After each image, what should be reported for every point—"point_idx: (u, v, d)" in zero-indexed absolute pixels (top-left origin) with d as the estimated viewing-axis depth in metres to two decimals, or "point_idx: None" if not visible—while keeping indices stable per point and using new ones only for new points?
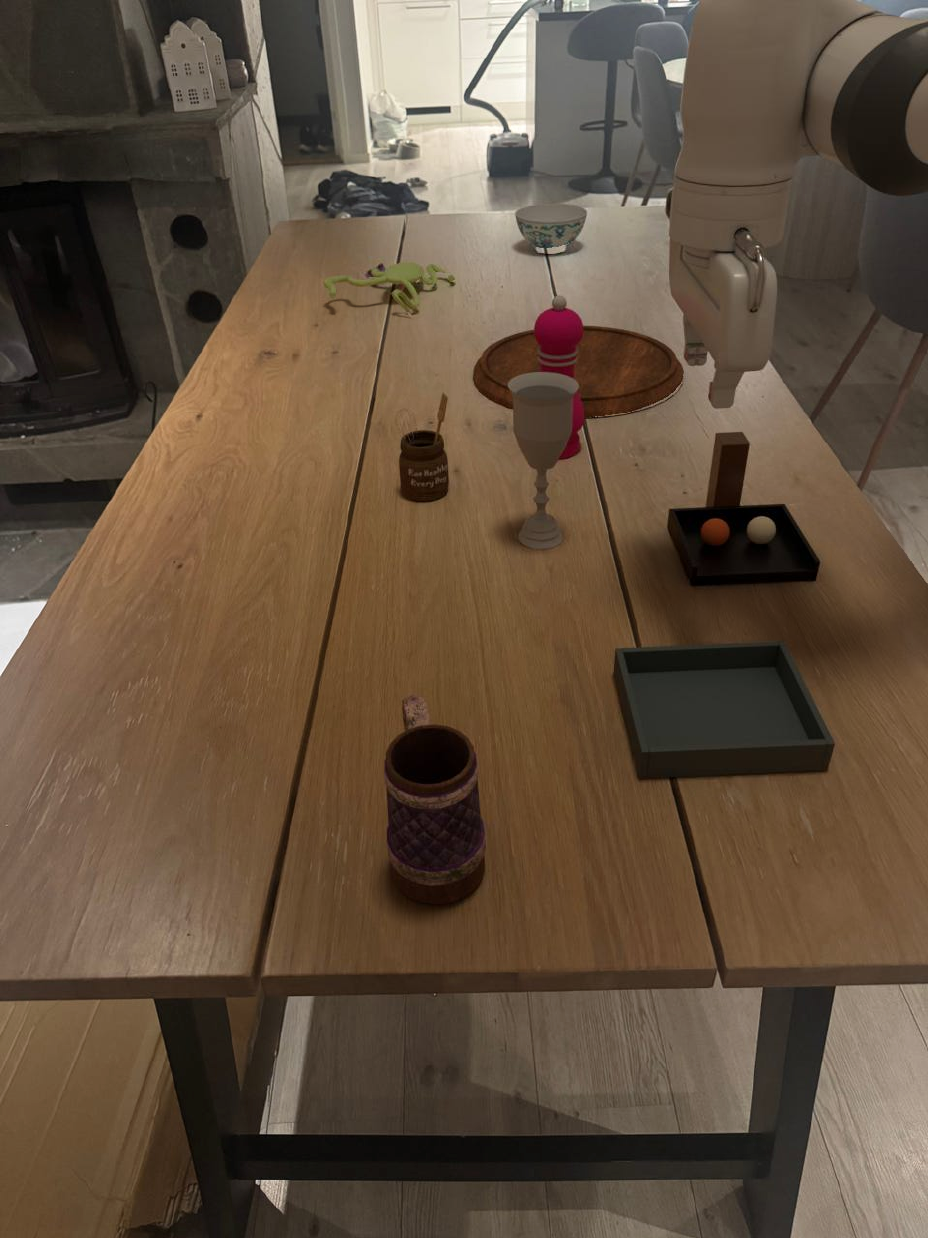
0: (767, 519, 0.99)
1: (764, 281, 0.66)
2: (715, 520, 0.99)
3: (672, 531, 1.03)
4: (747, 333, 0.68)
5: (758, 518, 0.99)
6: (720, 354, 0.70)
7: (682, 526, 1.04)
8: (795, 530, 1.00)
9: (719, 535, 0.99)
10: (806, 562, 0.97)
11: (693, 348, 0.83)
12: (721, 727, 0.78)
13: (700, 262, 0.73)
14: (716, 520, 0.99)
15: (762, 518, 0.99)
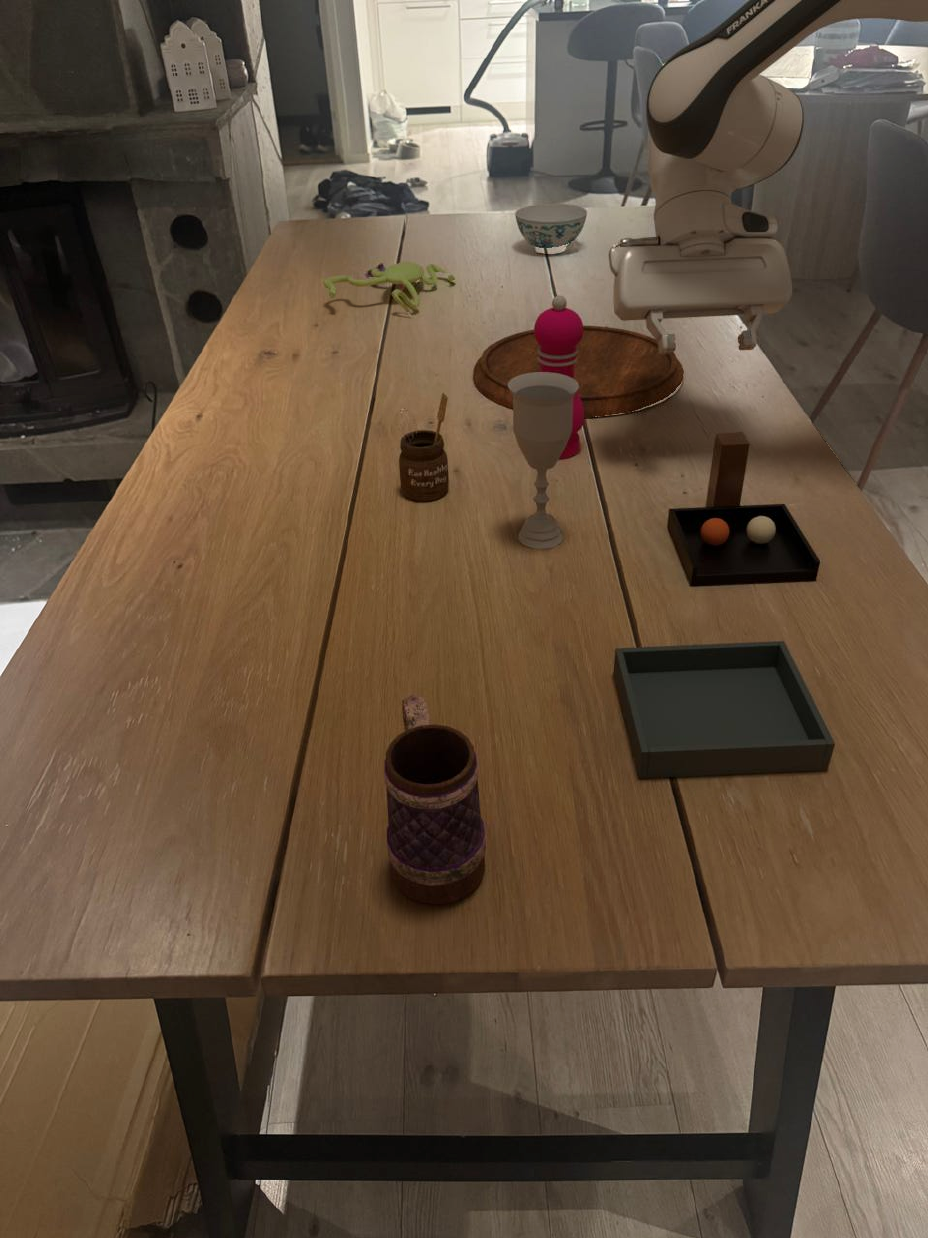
0: (767, 518, 0.99)
1: (610, 255, 1.06)
2: (715, 519, 0.99)
3: (672, 531, 1.03)
4: (615, 289, 1.06)
5: (758, 518, 1.00)
6: None
7: (682, 526, 1.04)
8: (795, 530, 1.00)
9: (719, 534, 0.99)
10: (806, 562, 0.97)
11: (738, 336, 1.07)
12: (721, 727, 0.78)
13: None
14: (716, 519, 0.99)
15: (762, 517, 0.99)
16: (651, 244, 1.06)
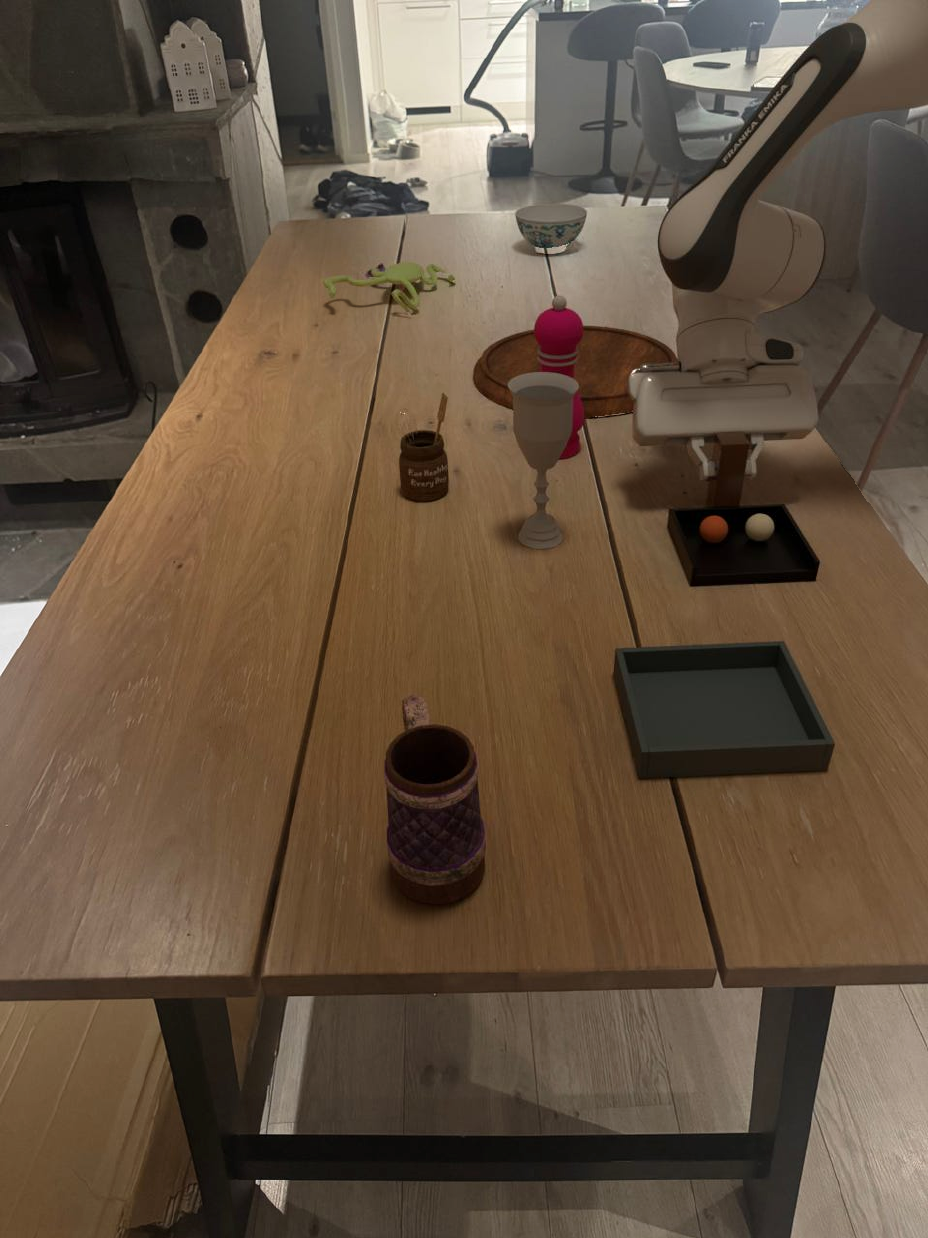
0: (764, 514, 1.00)
1: (629, 381, 1.04)
2: None
3: (672, 531, 1.03)
4: (634, 415, 1.04)
5: (755, 514, 1.00)
6: None
7: (682, 526, 1.04)
8: (795, 530, 1.00)
9: (717, 527, 0.99)
10: (806, 562, 0.97)
11: None
12: (721, 727, 0.78)
13: None
14: None
15: None
16: (672, 370, 1.04)
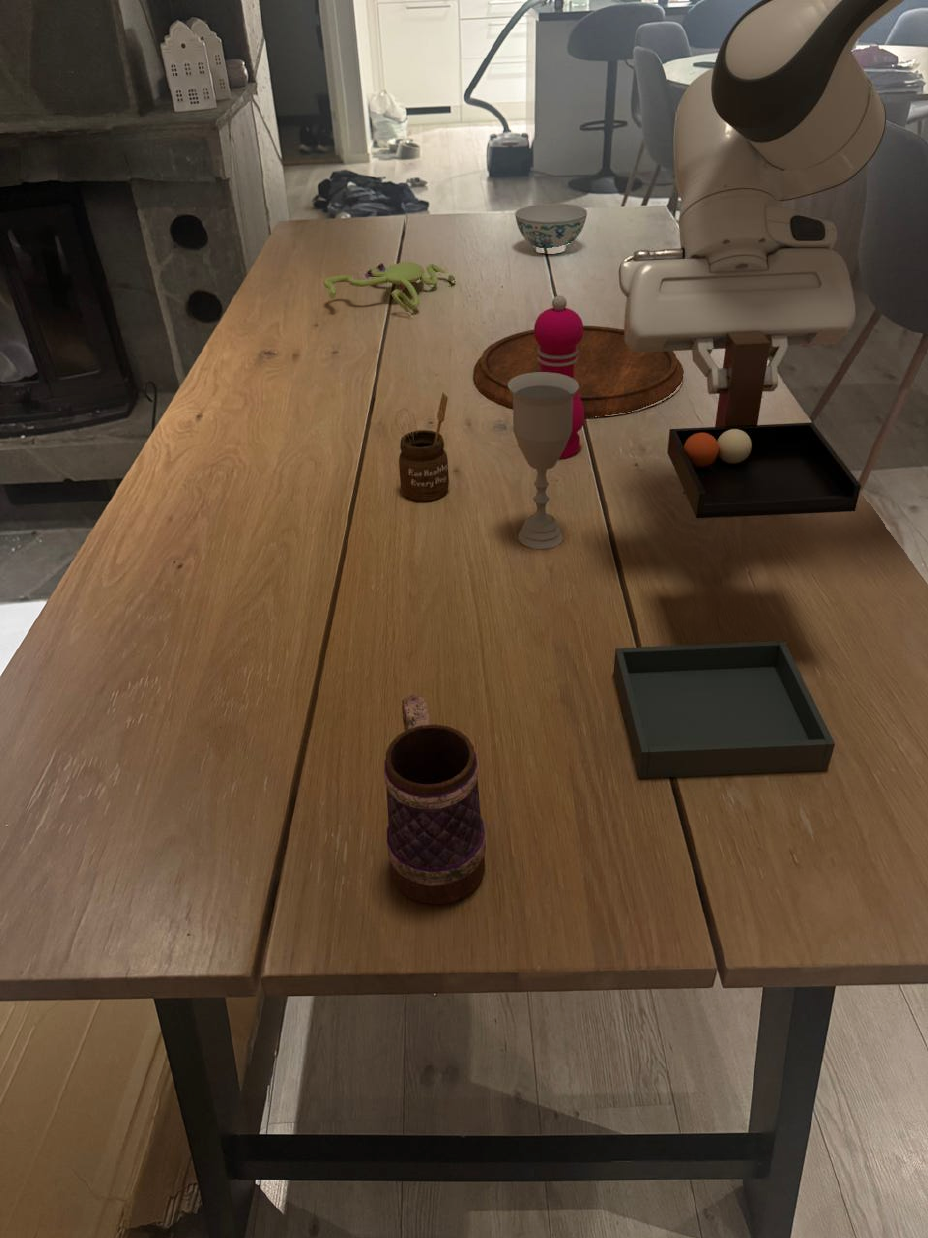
0: None
1: (620, 272, 0.84)
2: None
3: (673, 456, 0.83)
4: (626, 314, 0.84)
5: None
6: None
7: None
8: (827, 451, 0.80)
9: (690, 450, 0.80)
10: (842, 489, 0.77)
11: None
12: (721, 727, 0.78)
13: None
14: None
15: None
16: (673, 257, 0.84)
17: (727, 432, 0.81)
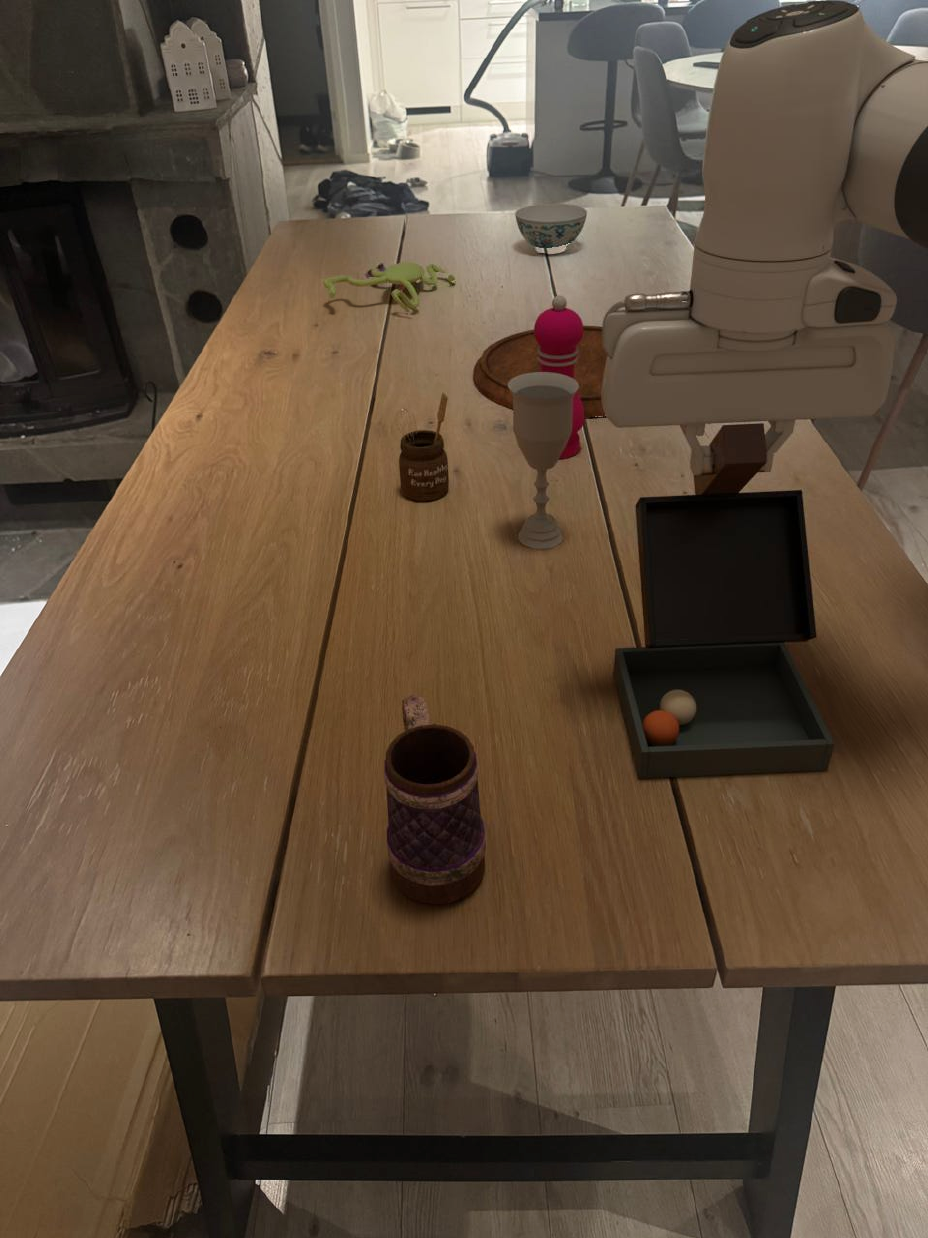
0: None
1: (604, 327, 0.65)
2: (654, 743, 0.75)
3: (639, 532, 0.76)
4: (606, 377, 0.67)
5: None
6: None
7: (655, 514, 0.76)
8: (801, 557, 0.74)
9: None
10: (801, 615, 0.74)
11: None
12: (721, 727, 0.78)
13: None
14: (655, 742, 0.75)
15: None
16: (677, 308, 0.64)
17: (677, 698, 0.77)
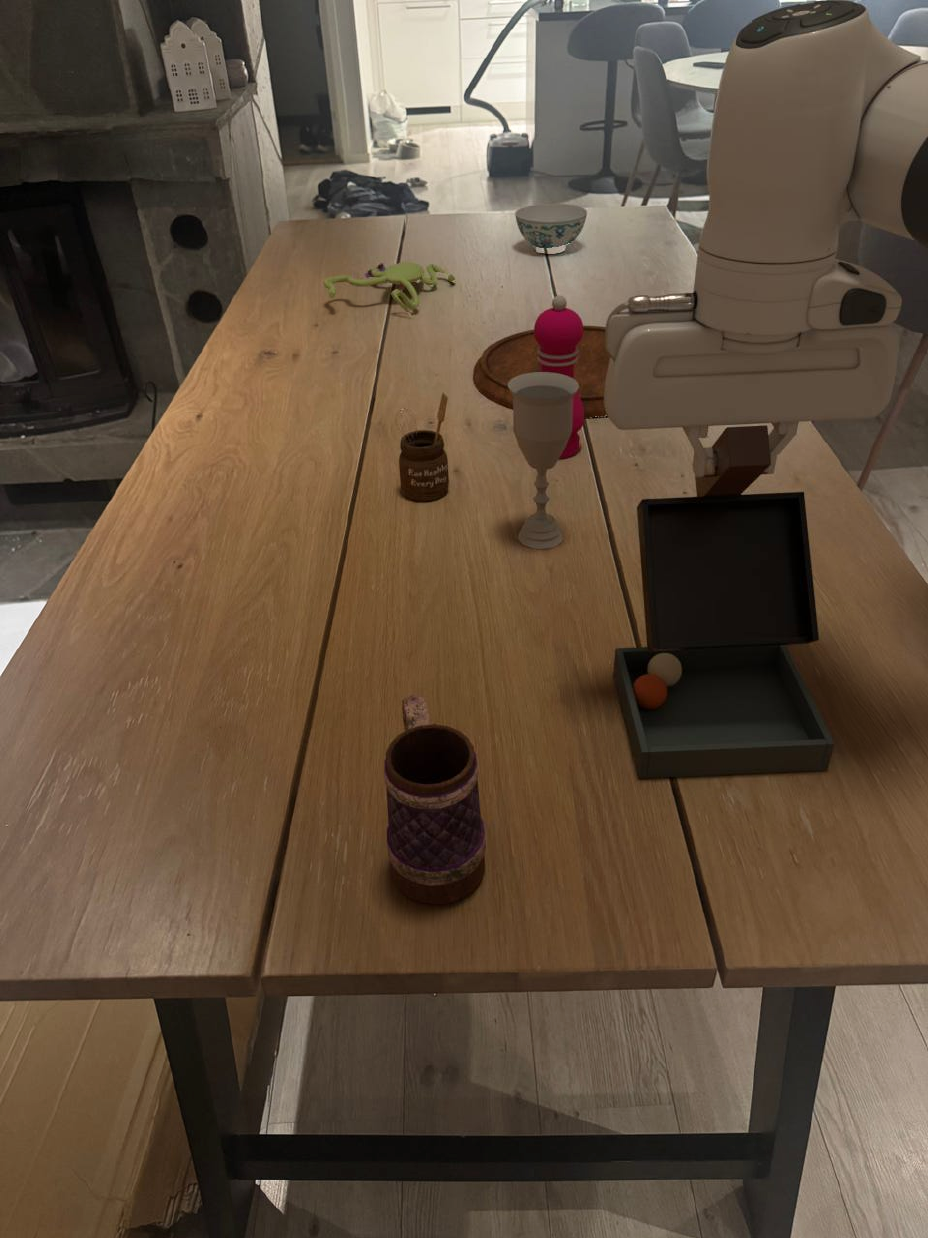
0: (650, 664, 0.82)
1: (607, 329, 0.64)
2: None
3: (640, 534, 0.75)
4: (609, 379, 0.67)
5: (658, 662, 0.81)
6: None
7: (656, 516, 0.76)
8: (804, 560, 0.73)
9: (647, 678, 0.79)
10: (803, 617, 0.74)
11: None
12: (721, 727, 0.78)
13: None
14: None
15: (654, 662, 0.81)
16: (680, 310, 0.63)
17: None
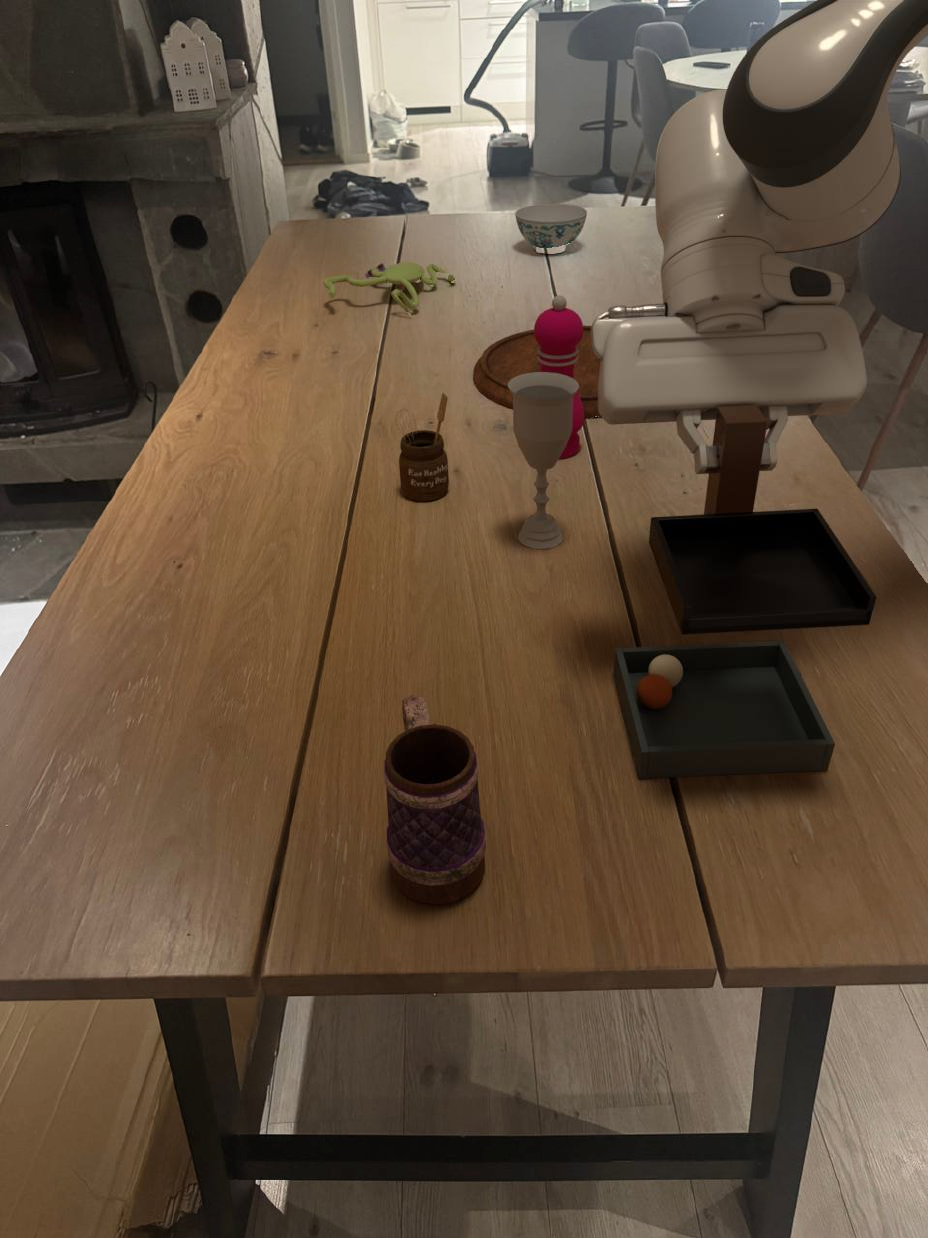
0: (651, 666, 0.81)
1: (592, 331, 0.72)
2: None
3: (655, 550, 0.71)
4: (600, 380, 0.72)
5: (660, 666, 0.81)
6: None
7: (670, 542, 0.72)
8: (835, 548, 0.68)
9: (657, 677, 0.79)
10: (854, 597, 0.65)
11: None
12: (721, 727, 0.78)
13: None
14: None
15: (656, 665, 0.81)
16: (654, 314, 0.73)
17: None
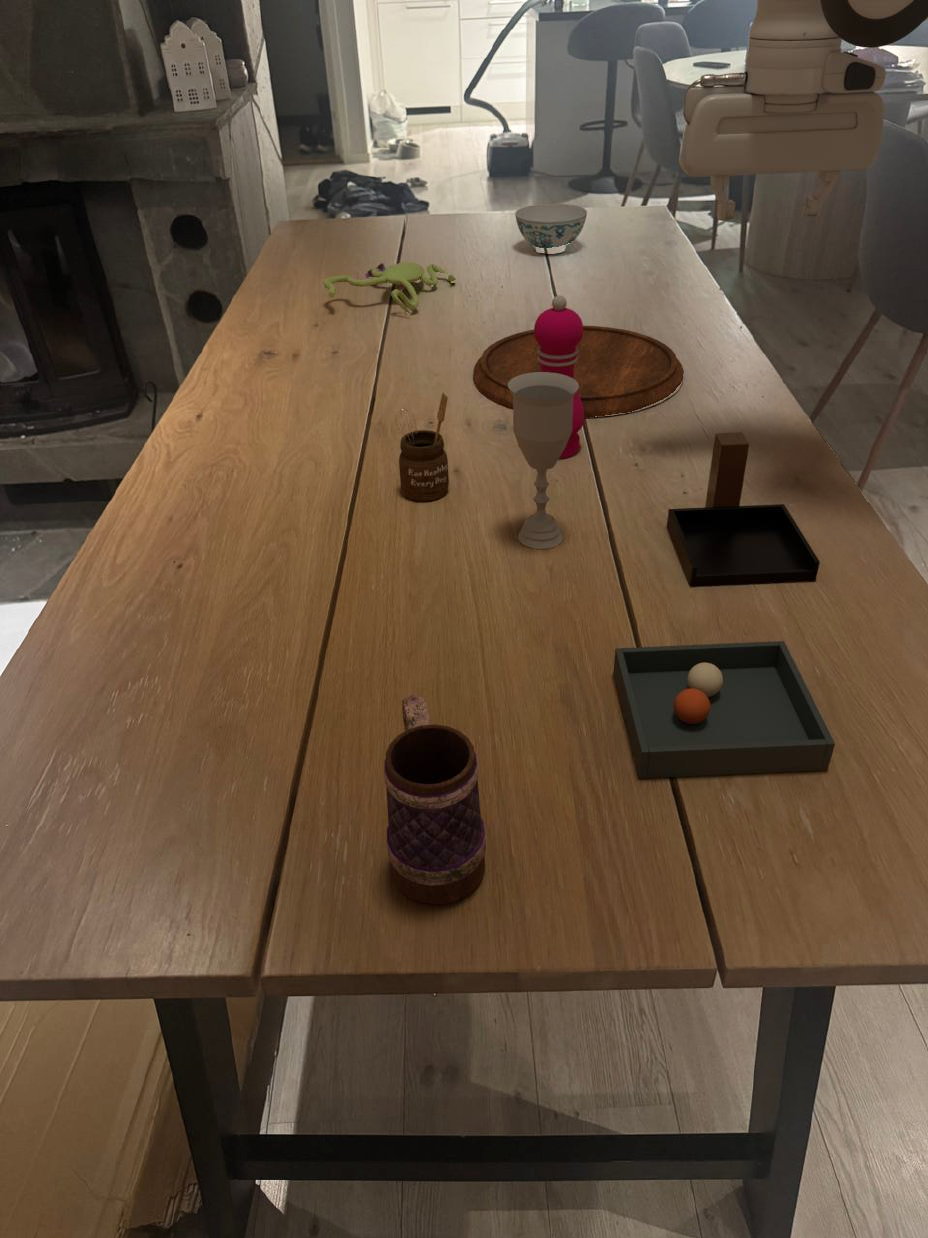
0: (719, 683, 0.80)
1: (685, 99, 0.94)
2: None
3: (672, 531, 1.03)
4: (684, 140, 0.96)
5: (715, 692, 0.80)
6: None
7: (682, 526, 1.04)
8: (795, 530, 1.00)
9: None
10: (806, 562, 0.97)
11: (806, 198, 1.00)
12: (721, 727, 0.78)
13: None
14: (708, 700, 0.78)
15: (718, 689, 0.80)
16: (736, 85, 0.93)
17: (696, 665, 0.80)
